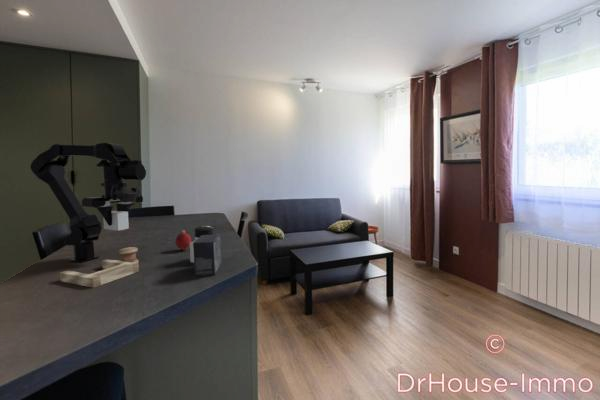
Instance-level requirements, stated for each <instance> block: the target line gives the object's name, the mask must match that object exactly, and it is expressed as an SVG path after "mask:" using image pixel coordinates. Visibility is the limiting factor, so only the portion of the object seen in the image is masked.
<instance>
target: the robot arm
mask: <svg viewBox="0 0 600 400" xmlns="http://www.w3.org/2000/svg"><path fill="white" fill-rule="evenodd" d="M70 156H73V157H93V158H95V159H99V160H100V161H99V162H98V163H97V164H96V165H95V166H96V167H99V168H100V167H101V168H102V176H103V182H100V186H101V187H103V189H104V190H103V191H104V194H102V195H101V196H90V197H89V196H88V197H87V196H86V197H83V198H82V200H81V202H79V199H78V198H77V196H76V195H75V193H74V192H73V190H72V188H71V187H70V185H69V183H68V181H66V179H65V178H66V170H65V167H66V166H67V165H68V162H69V157H70ZM56 158H57V159H56ZM30 170H31V172H32V173H33V174H34V175H35V176H36V177H37V179H39V180H40V181H42V182H44V183H45V184H47V185H48V186H49V188H50V189H51V191H52V193H53V194H54V196H55V198H56V199H57V201H58V202H59V204H60V205H61V207H62V209H63V210H64V212H65V213H66V215H67V217H68V218H69V230H70V233H69V234H68V235H67V236H66V238H65V239H64V241H65V244H66V246H72V250H73V251H72V253H73V258H70V259H68V261H70V262H75V263H84V262H86V261H88V262H89V261H90V260H94V259H99V257H100V256H99V255H96V254H95V246H94V245H95V244H94V241H98V240H99V237H100V235H101V232H102V229H103V228H102V226H101V224H102V223H101V221H100V220H99V219H98V217H97V215H96V214H88V213H87V212H86V211H85V210H84V208H83V207H87V208H88V207H89V208H94V209H97V211H99V213H100V214H101V216H102V217H104V219H105V220H106V222H107V224H108V225H109V226H111V225H112V213H111V211H113V209H114V205H111V204H114V203H115V206H116V209H117V210H116V211H125V212H129V209H130V208H131V207H132V206H134V205H135V203H144V197H143V195H142V194H141V188H140V187H138V186H136V187H135V186H133V187H131V188H129V187H128V186H127V185H128V184H127V182H124V180H125V181H142V180H143V181H144V179H145V178H146V175H147V170H146V167H145V166H144V165H143V163H142V160H138V159H134V160H131V158H130V157H129V155H128V153H126V151H125V148H124V147H123V146H122V144H118V143H112V142H100V143H95V144H93V145H92V144H91V145H84V144H83V145H80V144H62V143H55V144H52V145H51V147H49V148H48V149H47V150H45V151H44V152H41V153H39V154H38V155H37V156H36V158H34V159H33V160H32V161H31V164H30ZM133 202H135V203H133Z"/></svg>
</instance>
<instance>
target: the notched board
mask: <svg viewBox="0 0 600 400" xmlns="http://www.w3.org/2000/svg"><path fill="white" fill-rule="evenodd" d="M139 265H140V264H139V263H131V262H125V261H122V260H117V259H110V258H106V259H104V260H101V267H102V270H99V271H96V272H92V273H85V272H84V273H83V272H78V271H74V270H73V271H72V270H65V271H61V272H59V275H60V282H63V283H67V284H72V285H73V284H74V285H79V286H82V287H84V286H85V287H88V288H97V287H99V286H102V285H105V284H108V283H110V282H113V281H115V280H119V279H122V278H124V277H127V276H130V275H133V274H135V273H137V272H138V273H139V272H140V268H139V267H140V266H139Z"/></svg>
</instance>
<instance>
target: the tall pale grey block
mask: <svg viewBox="0 0 600 400" xmlns="http://www.w3.org/2000/svg"><path fill="white" fill-rule="evenodd" d="M111 213H112V225H111V226H109V225H108V224H107V222H106V220H105V219H104V217H103V216H102V217H103V229H104V230H109V231H124V230H128V229H130V227H129V211H127V212H125V211H117V210H111Z"/></svg>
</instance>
